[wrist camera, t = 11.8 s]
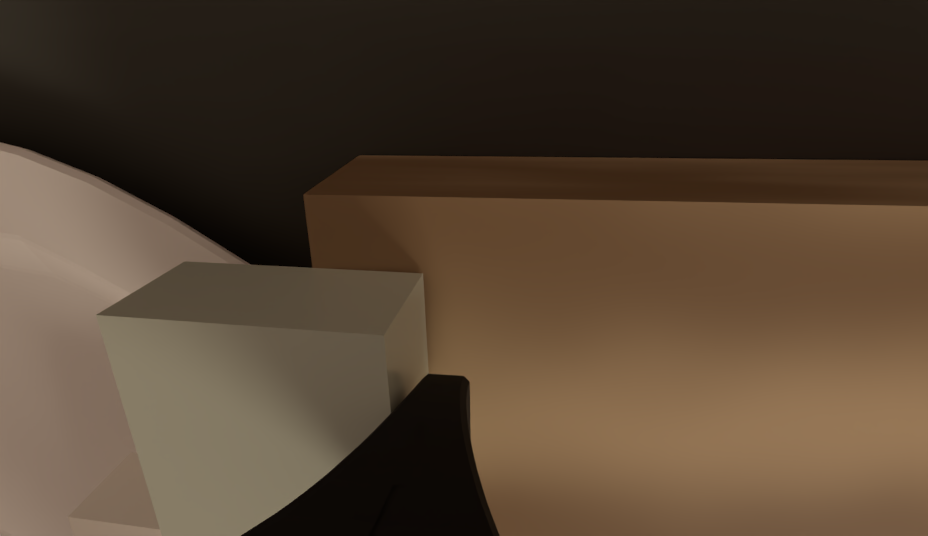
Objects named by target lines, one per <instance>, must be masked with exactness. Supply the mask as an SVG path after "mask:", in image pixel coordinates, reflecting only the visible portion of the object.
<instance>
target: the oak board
mask: <svg viewBox="0 0 928 536" xmlns="http://www.w3.org/2000/svg"><path fill="white" fill-rule="evenodd" d="M303 198H304V205H305V213H306V221H307V229H308V236H309V244H310V252H311V260H312V268H326V269H346V270H366V271H386V272H406V273H423V282H424V300H425V317H426V335H427V353H428V370H429V374H442V375H458V376H465V378H466V379H467V380H468V381H469V382H470V431H471V444H472V449H473V454H474V459H475V463H476V467H477V470H478V474H479V477H480V481H481V484H482V488H483V491H484V494H485V497H486V500H487V503H488V506H489V509H490V512H491V514H492V517H493V520H494V522H495V525H496V528H497V530H498V533H499V535H500V536H928V161H918V160H812V159H706V158H600V157H494V156H389V155H359V156H357V157H356V158H355V159H353V160H352V161H350V162H349V163H347V164H346V165H345V166H343V167H342V168H340V169H339V170H337V171H336V172H335V173H333V174H332V175H330V176H329V177H327V178H326V179H325V180H323V181H322V182H320V183H319V184H317V185H316V186H315V187H313V188H312V189H310V190H309V191H307V192H306V193H305V194H303Z"/></svg>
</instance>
